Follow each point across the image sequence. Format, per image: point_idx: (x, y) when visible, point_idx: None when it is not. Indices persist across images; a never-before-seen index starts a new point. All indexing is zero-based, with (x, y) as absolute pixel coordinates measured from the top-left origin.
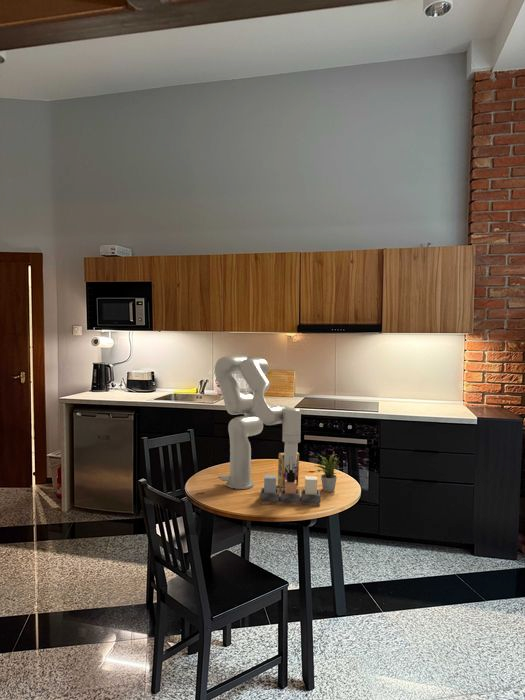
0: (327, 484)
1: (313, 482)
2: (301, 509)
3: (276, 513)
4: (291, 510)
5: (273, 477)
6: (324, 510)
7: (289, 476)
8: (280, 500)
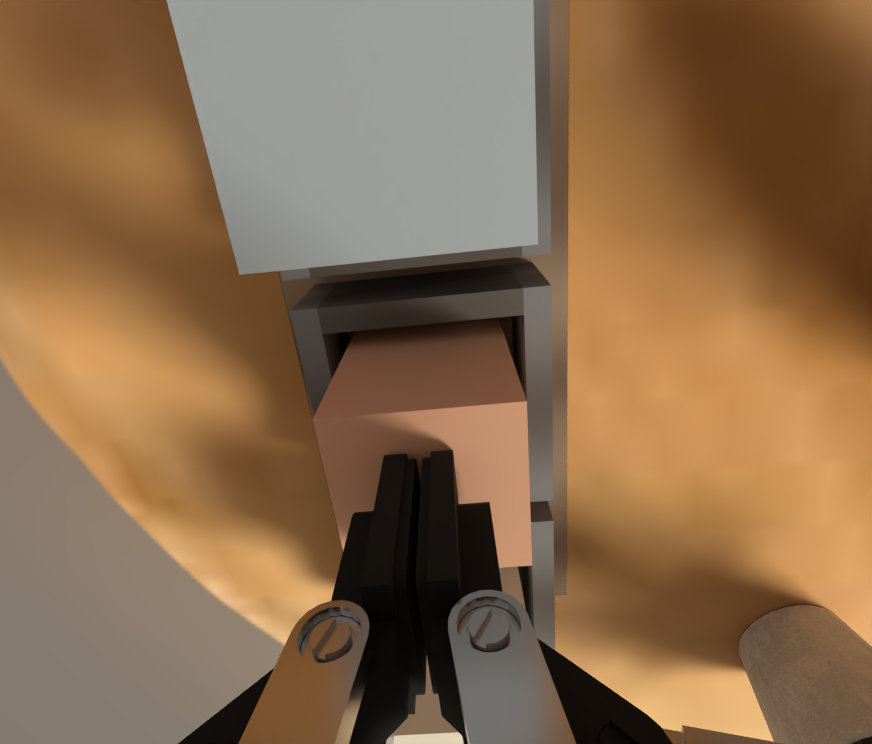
0: (772, 698)
1: None
2: (228, 477)
3: (11, 267)
4: (165, 400)
5: (304, 198)
6: (272, 623)
7: (341, 568)
8: (357, 273)
